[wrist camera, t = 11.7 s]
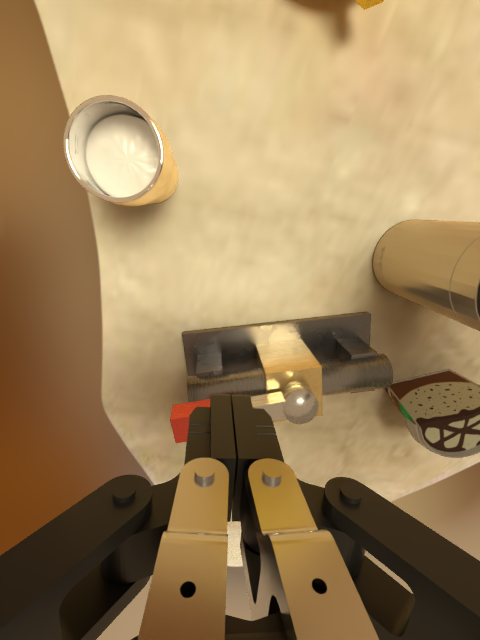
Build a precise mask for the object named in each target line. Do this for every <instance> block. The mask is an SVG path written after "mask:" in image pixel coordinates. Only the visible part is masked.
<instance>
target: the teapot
mask: <svg viewBox="0 0 480 640" xmlns="http://www.w3.org/2000/svg"><path fill="white" fill-rule="evenodd" d="M355 1H356V2H357V3H358V4H359V5H360V6H361V7H362V8H363V9H364V10H365V9H367V8H370V7H372V6H374V5H377V4H379V3H382V2H383V1H384V0H355Z"/></svg>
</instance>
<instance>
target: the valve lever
mask: <svg viewBox="0 0 480 640" xmlns="http://www.w3.org/2000/svg"><path fill="white" fill-rule="evenodd" d="M251 402H252V406H253V408H260V409H264V410H265V411H266V412H267V413H268V414H269V415H270V416H271V418H272V421H275V420H281V419H286V418H287V419H288V420H289V421H290V422H292V423H295V424H303V423H306V422H309V421H310V420H312V419H313V418H314V417H315V416H316V414H317V412H318V408H319V405H318V401H317V399H316V398H315V396H314V394H313V392H312V391H311V389H310V387H309V386H308V385H307V384H305V383H303V382H300V381H294V382H290V383H288V384H286V385H285V386H284V387H283V388H282V389H281V391H280V392H275V393H269V394H263V395H258V396H252V397H251ZM196 407H210V399H206V400H200V401H194V402H189V403H183V404H177V405H173V407H172V412H171V418H170V421H171V425H172V429H173V434H174V438H175V442H176V443H180V442H186V441H187V437H188V427H189V418H190V414H191V413H192V411H193V410H194V409H195V408H196Z"/></svg>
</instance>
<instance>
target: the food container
mask: <svg viewBox="0 0 480 640" xmlns="http://www.w3.org/2000/svg"><path fill="white" fill-rule="evenodd" d="M386 391H387V393H388V394H389V396H390V398H391V399H392V401H393V402H394V403H395V405H396V406H397V407H398V409H399V410H400V411H401V413H402V414H403V415H404V417H405V418H406V421H407V426H408V429H409V432H410V433H411V435H412V436H413V438H414V439H415V440H416V441H417V442H419V443H420V444H421V445H423V446H424V447H426V448H427V449H429V450H430V451H432V452H434V453H436V454H439V455H441V456H445V457H451V458H462V457H467V456H471V455H474V454H477V453H479V452H480V385H478V384H476V383H474V382H472V381H470V380H469V379H467V378H465V377H463V376H461V375H459V374H457V373H456V372H454V371H452V370H450V369H446V370H442V371H438V372H434V373H429V374H425V375H421V376H417V377H412V378H408V379H404V380H400V381H395V382H392V385H391V386H390V387H389V388H386Z"/></svg>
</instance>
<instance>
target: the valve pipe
mask: <svg viewBox="0 0 480 640" xmlns="http://www.w3.org/2000/svg"><path fill="white" fill-rule="evenodd" d="M370 323H371V314H370V313H369V312H359V313H350V314H341V315H332V316H323V317H314V318H304V319H295V320H286V321H277V322H268V323H258V324H249V325H240V326H231V327H222V328H213V329H203V330H194V331H185V332H183V333H182V336H183V343H184V350H185V357H186V363H187V370H188V381H187V386H188V399H189V402H194V401H200V400H206V399H210V398H211V394H230V397H231V394H232V395H250V397H252V396H258V395H263V394H269V393H275V392H280V391H281V389H282V388H283V387H284V386H285V385H286V384H288V383H290V382H294V381H300V382H303V383H305V384H307V385H308V386H309V387H310V389H311V391H312V392H313V394H314V396H315V398H316V399H317V401H318V405H319V408H318V412H317V414H316V416H322V396H324V395H332V394H340V393H348V392H350V393H356V392H364V391H373V390H375V389H381V388H389V387H390V386H391V385H392V382H393V371H392V367H391V364H390V361H389V359H388V358H387V357H386V356H385V355H384V354H377V352H376V351H375V350H374V349H373V348H371V347H370ZM316 416H315V417H316ZM284 420H288V419H287V418H286V419H281V420H275V421H273V422H276V421H284Z"/></svg>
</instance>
